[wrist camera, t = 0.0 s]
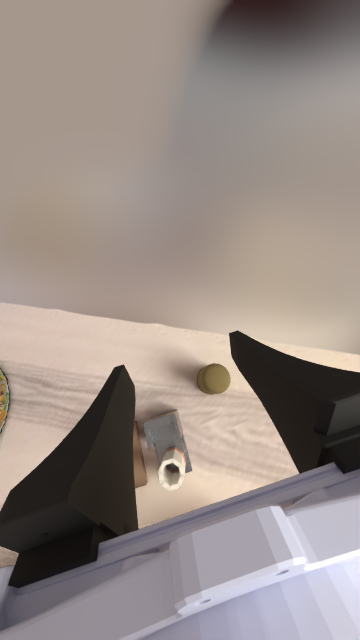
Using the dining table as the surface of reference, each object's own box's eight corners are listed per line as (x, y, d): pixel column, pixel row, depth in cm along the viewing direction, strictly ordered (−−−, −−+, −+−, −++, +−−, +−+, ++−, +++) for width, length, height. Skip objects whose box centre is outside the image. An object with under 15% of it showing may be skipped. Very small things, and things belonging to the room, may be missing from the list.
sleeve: (187, 470, 37) (187, 485, 31) (166, 477, 36) (161, 494, 31) (181, 445, 38) (180, 455, 33) (160, 451, 38) (155, 463, 32)
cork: (203, 398, 41) (208, 403, 31) (192, 372, 43) (193, 368, 33) (228, 387, 42) (241, 387, 31) (216, 362, 44) (224, 354, 33)
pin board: (147, 481, 37) (142, 493, 33) (107, 495, 36) (97, 508, 32) (136, 421, 40) (130, 424, 36) (99, 432, 40) (90, 437, 36)
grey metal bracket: (192, 469, 37) (193, 484, 31) (162, 479, 37) (157, 496, 31) (177, 409, 41) (175, 413, 35) (149, 418, 40) (143, 423, 35)
